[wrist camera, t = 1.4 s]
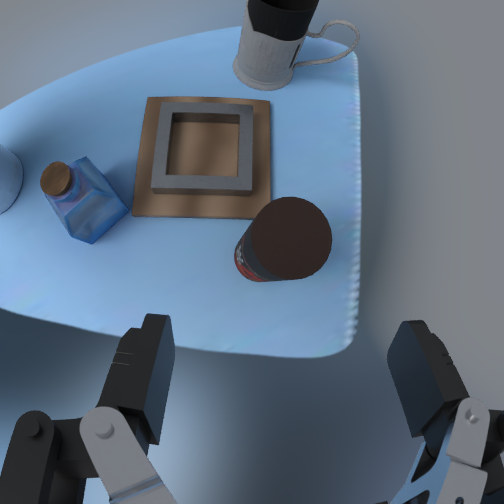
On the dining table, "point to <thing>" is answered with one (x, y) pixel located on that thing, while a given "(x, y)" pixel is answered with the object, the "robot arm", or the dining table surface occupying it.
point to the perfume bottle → (82, 199)
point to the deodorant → (284, 242)
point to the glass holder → (277, 41)
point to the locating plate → (203, 158)
